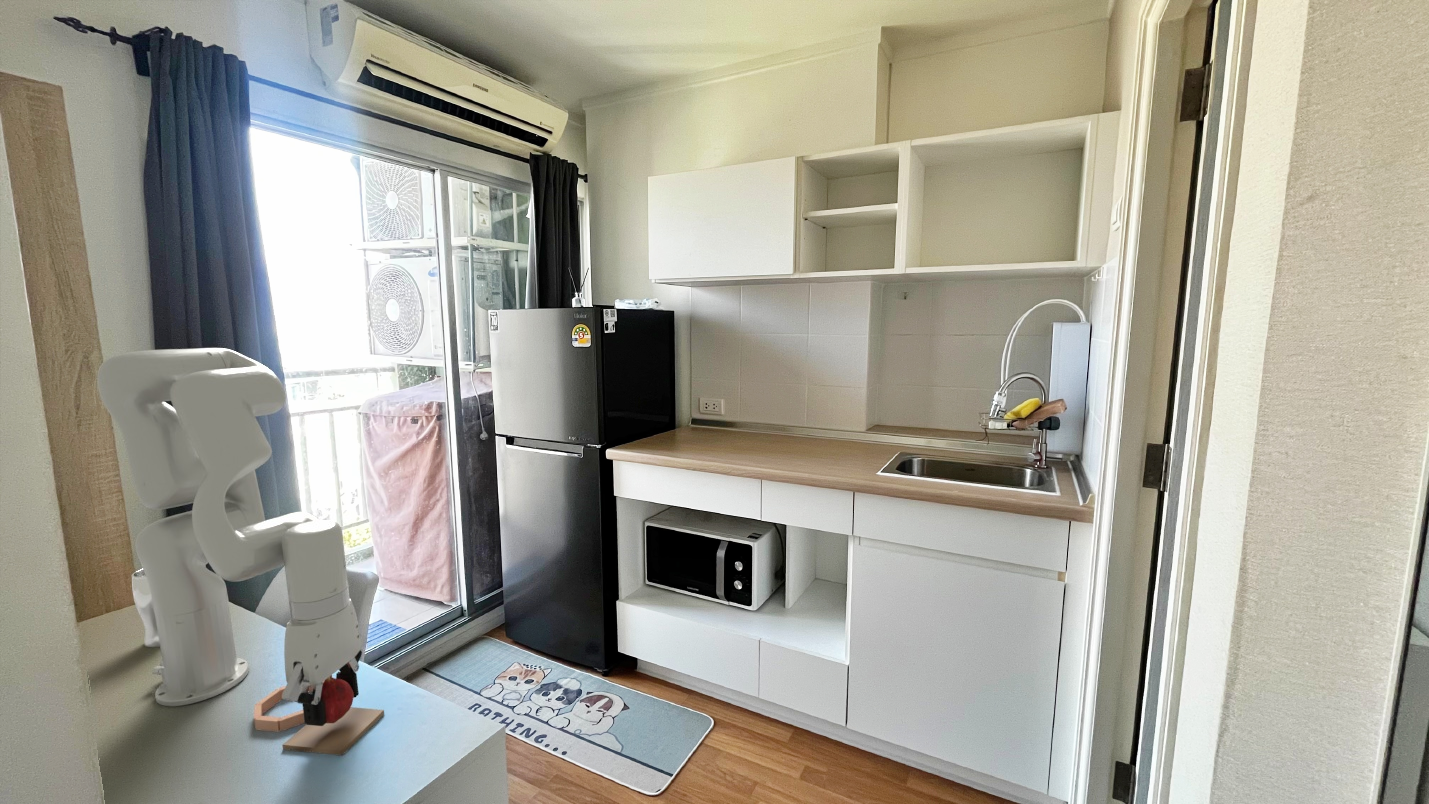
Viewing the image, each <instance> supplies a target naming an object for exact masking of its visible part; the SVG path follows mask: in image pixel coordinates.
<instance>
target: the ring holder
mask: <svg viewBox="0 0 1429 804" xmlns="http://www.w3.org/2000/svg"><path fill="white" fill-rule="evenodd" d="M324 681H325V680H324ZM324 681H323V682H324ZM285 687H286V685H284V686H281V687H278V688H277V689H275V690H274V691H272V692H271V693H269V694H267V695H266V696H265V697H264V698H262V699H261V700H259V701H258V702H257V703H256V704H255V705H254V706H253V707H254V712H253V723H254V728H255V730H257V731H266V732H277V733H278V732H283V731H286V730H288V729H292V728H293V727H297V726H300V725H303V724H305V720H304V712H303V709H302V710H299V711H296V712H293V713H290V714H287V715H284V716H279V717H278V716H268V715H264V714H265V713H266V712H267V711H268V710H270V709H271V708H273V707H274V706H276V704H278V703H279V702H280V701H282V700H283V699H282V694H283V692H284V690H285ZM313 687H314V686H313ZM313 687H312V686H309V690H308V691H309V692H308V693H312V691H313ZM299 689H300V687H299Z"/></svg>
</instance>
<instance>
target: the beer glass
mask: <svg viewBox="0 0 1429 804" xmlns="http://www.w3.org/2000/svg"><path fill="white" fill-rule="evenodd" d="M131 583H132V584H131V587H132V596H133V601H134V604H135V607H136V609H137V612H138V614H139V616H140V618H141V621H142V623H143V628H144V630H145V631H144V633H145V635H144V647H147V648H159V647H160V642H159V636H158V630H157V624H156V618H155V612H154V607H153V601H152V596H151V591H150V587H149V583H148V580H147V577H146V575H145V572H144V570H143V568H141V569H139V570H136V571H135V572H133V573H132V574H131Z"/></svg>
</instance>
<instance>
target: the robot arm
mask: <svg viewBox="0 0 1429 804" xmlns="http://www.w3.org/2000/svg"><path fill="white" fill-rule="evenodd" d="M96 384H97V390H98V393H99V397H100V399H101V401H102V404H103V406H104V407H105V409H106V410H107V411H108V413H109V415H110V416H111V418H112V419H113V420H114V422H115V423H116V425H117V427H118V429H119V430H120V433H121V436H122V439H123V443H124V447H125V452H126V453H125V454H126V456H127V457H126V458H127V461H128V465H129V466H128V467H129V470H130V475H131V478H132V482H133V487H134V491H135V493H136V496H137V498H138V500H139V502H140V503H141V504H142V505H143V506H144V507H145V508H147V509H150V510H156V511H157V510H166V509H171V508H176V507H180V506H181V507H182V506H186V505H190V504H193V505H192V510H190V511H186V512H182V513H178V514H174V515H171V516H167V517H164V518H160V519H158V520H155V521H154V522H152V523H149V524H148V525H146V526H145V527H144V528H142V529H141V530H140V531H139V533H137V536H136V538H135V543H134V548H135V552H136V555H137V558H138V560H139V562H140V564H141V565H140V566H141V567H142V569H143V570H144V572H145V575H146V577H147V580H148V583H149V587H150V591H151V596H152V601H153V607H154V612H155V618H156V624H157V630H158V636H159V642H160V646H159V647H160V653H161V659H160V661H159V665H157V666H154V667H153V669H152V670H151V674H152V675H157V676H161V678H162V683H161V684H160V685H159V687H157V689H156V690H155V692H154V697H155V701H156V703H157V704H159V705H160V706H161V705H162V706H165V707H166V706H167V707H180V706H186V705H191V704H195V703H199V702H202V701H205V700H208V699H210V698H214V697H215V696H218V695H220V694H223V693H224V692H226V691H228V690H230V689H232V688H233V687H235V686H237V685H238V684H239V683H241V681H243V680H244V679H245V678H246V677H247V675H248V674H249V671H250V665H249V664H250V663H249V662H248V661H247V660H246V659H244V658H240V657H237V652H236V644H235V637H234V629H233V624H232V623H233V622H232V616H231V609H230V603H229V602H230V601H229V596H228V590H227V585H226V582H225V581H228V582H241V581H243V582H244V581H246V580H249V579H252V578H255V577H257V576H261V575H263V574H265V573H268V572H271V571H272V570H275V569H278V568H281V567H283V566H284V573H285V580H286V589H287V597H288V605H289V614H290V620H289V621H288V622H286V628H285V631H284V632H285V633H284V634H285V635H284V646H283V647H284V648H283V649H284V650H283V651H284V655H283V656H284V657H283V658H284V669H285V671H284V672H285V673H284V674H285V681H286V685H285V686H286V687H285V690H284V692H283V694H282V700H286V701H291V702H293V703H297V704H301V705H302V710H303V712H304V720H305V723H304V724H305V725H314V726H323V725H324V724H326V721H327V719H326V711H325V703H324V700H320V697H321V691H322V686H323V681H324V680H326V679H327V678H328V677H330V676H331V675H332V676H333V675H334V674H335V673H336V677H335V678H337V679H341V680H344V681H346V682H347V683H348V684H349V685H350V686H351V688H352V690H353V694H354V697H353V699H354V698H356V697H357V696H359V686H358V685H359V684H358V676H357V673H358V670H359V669H360V665H359V662H360V659H361V658H362V654H363V649H364V647H365V645H366V643H367V641H368V640H367V637H366V636H364V635H362V634H360V633H361V632H360V626H359V622H358V618H357V613H356V609H355V606H354V604H353V601H352V599H351V598H350V591H349V587H350V582H349V581H348V573H347V564H346V555H345V545H344V535H343V529H342V527H341V525H340V524H339V523H338V522H336V521H334V520H327V519H326V520H325V519H320V518H318V517H317V516H315V515H313V514H312V513H310V512H306V511H294V512H290V513H287V514H283V515H280V516H277V517H273V518H269V519H266V517H265V511H264V507H263V503H262V498H261V493H260V492H261V491H260V488H259V483H258V479H257V478H258V477H257V474H256V470H257V469H259V467H261V466H262V465H265V463H266V462H268V461H269V459H270V458H271V456H272V453H273V451H272V447H271V445H270V443H269V442H268V440H267V437H266V435H265V434H264V432H263V430H262V428H261V425H260V424H259V422H258V420H257V418H256V417H260V416H267V415H273V414H275V413H277V412H279V411H281V409H282V408H283V407H284V405H285V402H286V391H285V388H284V385H283V383H282V381H281V380H280V378H279V377H278V375H276V373H274V371H272V370H271V369H269V368H268V367H267V366H265V365H263V364H262V363H260V362H259V361H256V360H254V359H252V358H250V357H248V356H246V355H243V354H242V353H239V352H237V351H234V350H232V349H229V348H225V347H224V348H223V347H201V348H199V347H198V348H180V349H179V348H174V349H173V348H167V349H148V350H138V351H137V350H135V351H130V352H129V351H127V352H124V353H120V354H116V355H113V356H111V357H108V358H106V360H104V361H103V362H102V363H101V364H100V366H99V369H98V370H97V376H96ZM167 402H171V404H172V405H171V404H169V403H167ZM207 564H209V566H210V567H211V569H212V570H213V571H214V572H213V571H212V570H209V569H208V568H207V567H206V565H207ZM337 671H338V672H337ZM309 686H312V687H313V686H314V687H313V691H312V692H311V693H310V692H308V690H309ZM299 687H300V689H299Z"/></svg>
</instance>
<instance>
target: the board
mask: <svg viewBox="0 0 1429 804" xmlns="http://www.w3.org/2000/svg"><path fill="white" fill-rule="evenodd" d="M384 716H385V710H384V709H379V708H378V709H377V708H367V707H365V708H364V707H363V708H362V707H352V706H351V707H350V709H349V711H348V712H347V713H346V714H345V715H344V716H343V717H342V718H341V719H339V720H338V721H337V722H335V723H326V724H324V725H323V726H314V725H306V724H305V725H304V726H303V727H302V728H300V729H299V730H298V731H297V732H296V733H295V734H293V735H292V736H291V737H290V738H288V739H287V740H286V741H285V742H283V744H281V745H282V750H285V751H294V752H304V753H314V754H315V753H317V754H326V755H337V756H344V755H345V754H346V753H347V752H348V751H349V750H350V748H352V747H353V746H354V745H355V744H356V743H357V742H358V741H359V740H360V739H361V738H362V737H363V736H364V735H365V734H366V733H367V732H368V731H369V730H370V729H371V728H372V727H373V726H374V725H375V724H377V722H378V721H379V720H380V719H382V718H383V717H384Z"/></svg>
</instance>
